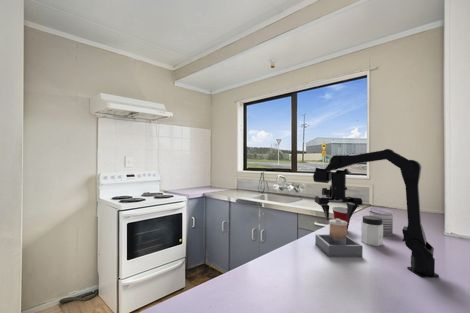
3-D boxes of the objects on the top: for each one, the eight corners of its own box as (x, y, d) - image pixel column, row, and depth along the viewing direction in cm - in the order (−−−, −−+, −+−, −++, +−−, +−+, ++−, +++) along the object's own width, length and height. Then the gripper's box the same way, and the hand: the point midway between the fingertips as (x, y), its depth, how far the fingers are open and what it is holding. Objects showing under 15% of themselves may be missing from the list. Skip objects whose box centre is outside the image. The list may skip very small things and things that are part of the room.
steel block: (345, 250, 100) (346, 238, 100) (334, 250, 100) (334, 238, 100) (340, 245, 105) (340, 234, 105) (329, 245, 105) (329, 234, 105)
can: (384, 229, 135) (384, 208, 135) (398, 235, 124) (398, 212, 124) (364, 229, 134) (364, 207, 135) (377, 235, 123) (377, 212, 123)
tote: (362, 256, 96) (362, 245, 96) (328, 256, 95) (328, 245, 95) (345, 244, 110) (345, 234, 110) (315, 244, 109) (315, 234, 109)
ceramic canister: (350, 239, 99) (350, 221, 99) (333, 239, 99) (333, 221, 99) (342, 233, 106) (342, 217, 106) (326, 233, 106) (326, 217, 106)
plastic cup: (340, 234, 125) (340, 211, 125) (327, 228, 135) (327, 207, 135) (357, 232, 127) (357, 210, 127) (343, 226, 138) (343, 206, 138)
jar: (376, 247, 107) (376, 220, 107) (358, 241, 113) (358, 216, 113) (385, 243, 111) (386, 218, 112) (368, 238, 118) (368, 214, 118)
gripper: (349, 182, 111) (349, 215, 111) (310, 181, 110) (309, 215, 110) (363, 185, 100) (362, 222, 100) (320, 184, 99) (319, 222, 99)
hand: (337, 220), depth 103 cm, fingers open, 9 cm apart
